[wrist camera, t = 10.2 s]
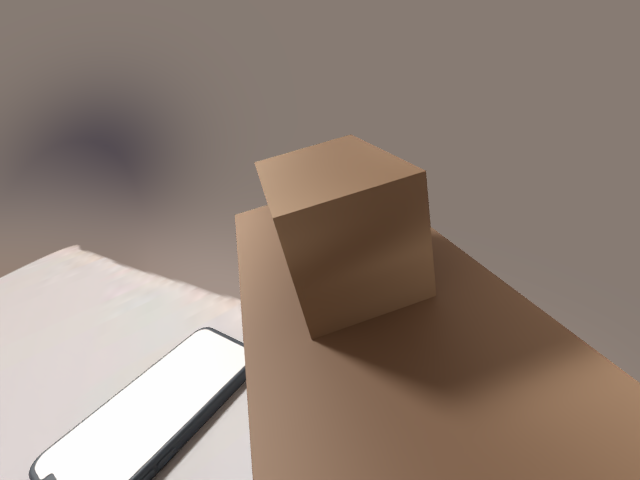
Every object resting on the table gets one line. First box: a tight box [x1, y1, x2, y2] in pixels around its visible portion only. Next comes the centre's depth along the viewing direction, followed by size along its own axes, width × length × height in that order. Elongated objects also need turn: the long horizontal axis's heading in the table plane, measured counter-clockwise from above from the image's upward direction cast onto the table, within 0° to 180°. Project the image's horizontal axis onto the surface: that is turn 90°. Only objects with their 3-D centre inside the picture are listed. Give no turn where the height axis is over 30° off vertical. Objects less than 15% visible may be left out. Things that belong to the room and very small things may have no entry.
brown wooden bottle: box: [235, 135, 640, 480], centre depth 9 cm, size 4×9×16 cm, turn 14°
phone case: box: [29, 327, 246, 480], centre depth 28 cm, size 9×2×16 cm
